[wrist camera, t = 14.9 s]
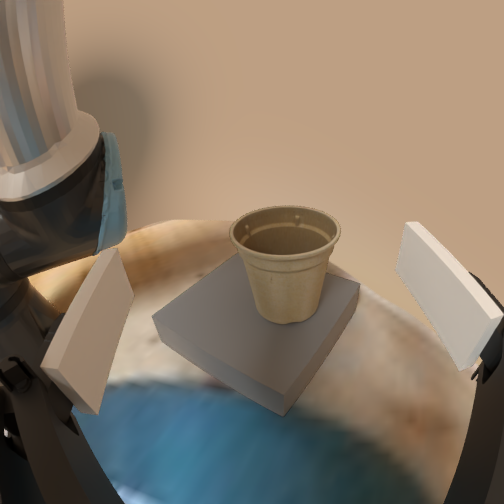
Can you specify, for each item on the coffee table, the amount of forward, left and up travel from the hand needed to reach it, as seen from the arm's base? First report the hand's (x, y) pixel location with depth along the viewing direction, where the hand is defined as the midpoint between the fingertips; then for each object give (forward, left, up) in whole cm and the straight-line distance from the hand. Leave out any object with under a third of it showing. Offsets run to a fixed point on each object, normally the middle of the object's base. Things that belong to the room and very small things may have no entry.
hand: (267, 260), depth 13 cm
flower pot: (-5, +10, -13) cm, 18 cm away
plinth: (-8, +9, -17) cm, 21 cm away
